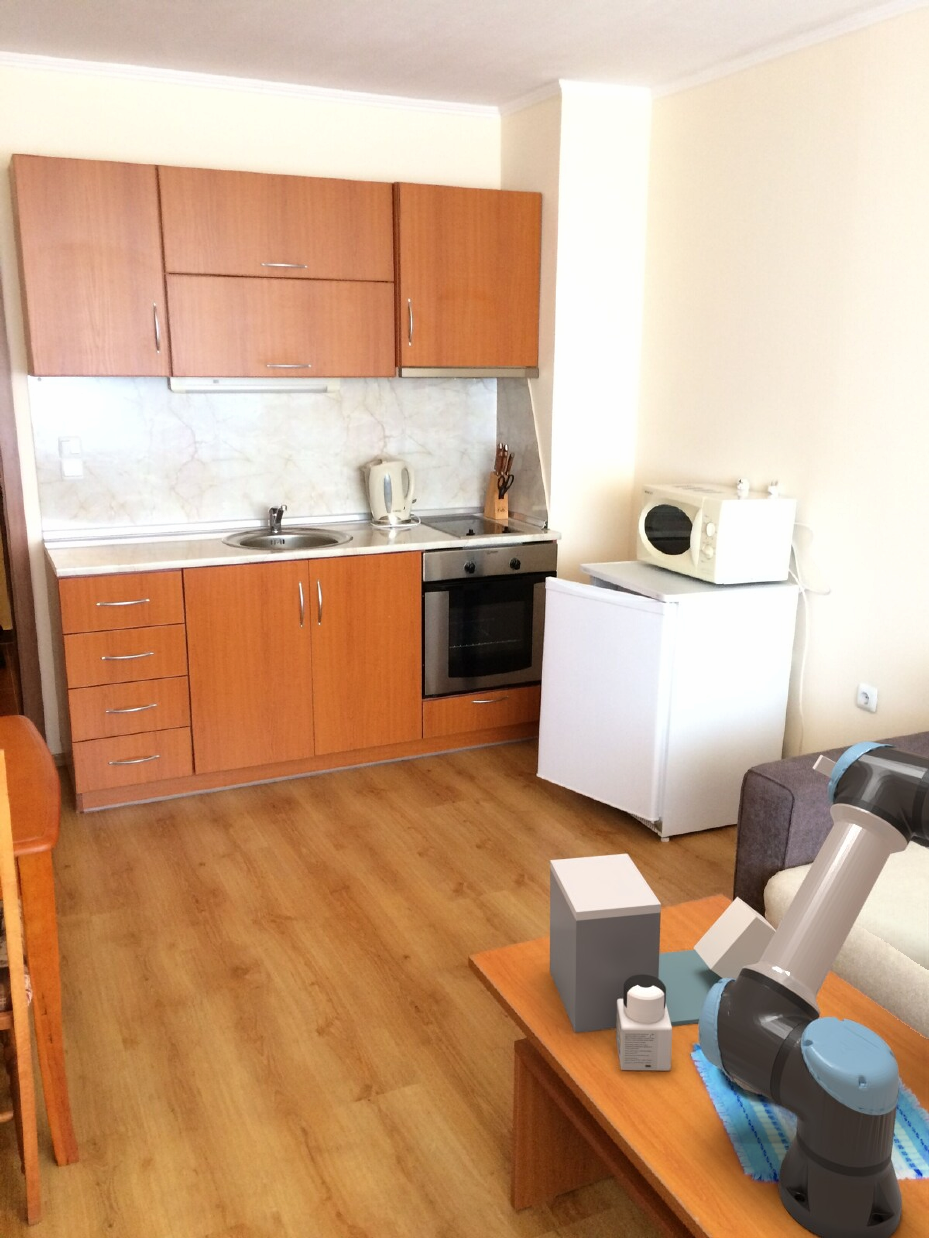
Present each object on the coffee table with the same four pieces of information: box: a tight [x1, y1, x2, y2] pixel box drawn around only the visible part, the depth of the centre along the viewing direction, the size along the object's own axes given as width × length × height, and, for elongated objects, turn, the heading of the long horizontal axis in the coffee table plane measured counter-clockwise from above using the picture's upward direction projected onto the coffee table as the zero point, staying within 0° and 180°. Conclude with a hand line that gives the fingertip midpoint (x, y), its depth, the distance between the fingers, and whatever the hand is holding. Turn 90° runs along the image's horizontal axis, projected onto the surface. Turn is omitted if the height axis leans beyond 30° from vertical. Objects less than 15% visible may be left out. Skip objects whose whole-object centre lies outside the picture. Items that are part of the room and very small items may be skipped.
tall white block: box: [693, 896, 777, 980], centre depth 184 cm, size 18×7×12 cm
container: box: [615, 974, 673, 1072], centre depth 163 cm, size 8×8×13 cm
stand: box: [549, 853, 662, 1034], centre depth 177 cm, size 14×18×22 cm
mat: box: [659, 949, 723, 1027], centre depth 183 cm, size 20×20×1 cm
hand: (837, 776), depth 172 cm, fingers open, 13 cm apart
